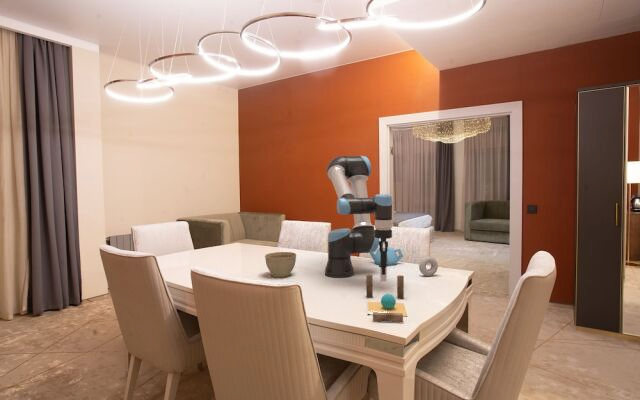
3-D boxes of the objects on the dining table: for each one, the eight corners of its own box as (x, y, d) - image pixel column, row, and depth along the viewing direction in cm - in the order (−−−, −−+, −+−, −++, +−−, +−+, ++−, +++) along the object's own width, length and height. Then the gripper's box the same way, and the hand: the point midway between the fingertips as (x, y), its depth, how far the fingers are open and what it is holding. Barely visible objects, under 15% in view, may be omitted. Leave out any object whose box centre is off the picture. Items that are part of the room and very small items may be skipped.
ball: (380, 293, 136) (380, 295, 142) (381, 308, 134) (380, 309, 139) (395, 292, 136) (394, 295, 141) (396, 308, 134) (395, 309, 139)
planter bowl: (276, 270, 201) (276, 250, 200) (302, 273, 194) (301, 253, 193) (258, 277, 187) (258, 256, 186) (285, 281, 179) (285, 258, 179)
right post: (397, 298, 149) (397, 276, 149) (397, 296, 152) (396, 275, 151) (404, 298, 149) (403, 277, 149) (403, 297, 152) (403, 275, 151)
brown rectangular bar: (373, 321, 125) (373, 314, 125) (373, 319, 127) (372, 312, 127) (402, 322, 124) (402, 315, 124) (402, 320, 126) (402, 313, 126)
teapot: (384, 267, 204) (384, 248, 203) (367, 263, 217) (367, 245, 216) (404, 264, 212) (404, 245, 212) (386, 259, 225) (386, 242, 224)
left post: (366, 297, 151) (366, 276, 151) (366, 295, 154) (366, 274, 153) (372, 298, 151) (372, 276, 150) (372, 296, 153) (372, 274, 153)
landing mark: (367, 315, 131) (367, 314, 131) (367, 302, 145) (367, 301, 145) (407, 316, 130) (407, 315, 130) (403, 303, 143) (403, 303, 143)
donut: (435, 274, 187) (435, 255, 187) (439, 276, 184) (439, 256, 184) (417, 275, 185) (417, 256, 185) (421, 277, 182) (421, 257, 181)
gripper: (392, 231, 156) (392, 285, 157) (391, 226, 169) (391, 277, 170) (375, 231, 157) (375, 285, 159) (374, 226, 170) (374, 276, 171)
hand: (383, 281), depth 164 cm, fingers closed
